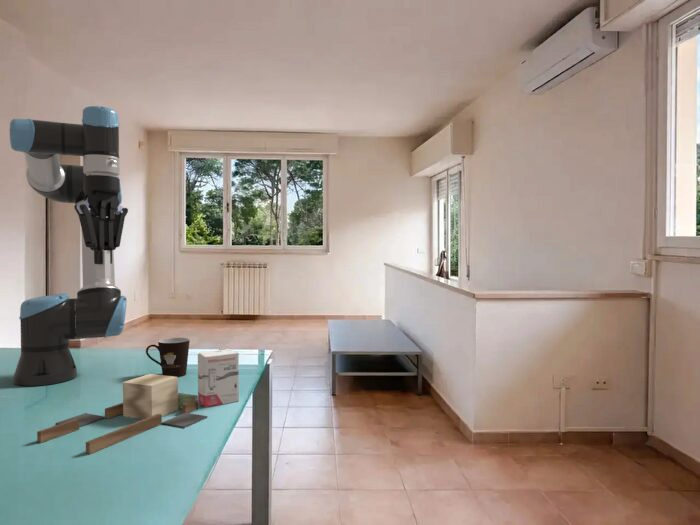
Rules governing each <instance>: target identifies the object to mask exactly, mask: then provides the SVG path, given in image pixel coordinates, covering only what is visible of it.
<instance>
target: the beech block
mask: <svg viewBox="0 0 700 525" xmlns="http://www.w3.org/2000/svg"><path fill="white" fill-rule="evenodd" d="M178 378H179V377H174V376H165V375H161V374H154V373H149V374H148V373H147V374H146V375H141V376H138V377H135V378H131V379H129V380H125V381H122V403H123V417H127V418H132V419H139V420H143V419H146V418H149V417H151V416H154V415H156V414H162V417H164V416H167V415H169V414H171V413H174V412H176V411H178V410H179V407H178V393H179V382H178V380H179V379H178ZM177 409H178V410H177ZM175 410H176V411H175ZM173 411H174V412H173Z"/></svg>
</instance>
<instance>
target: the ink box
mask: <svg viewBox="0 0 700 525" xmlns="http://www.w3.org/2000/svg"><path fill="white" fill-rule="evenodd" d="M239 357H240V356H239V352H237V351H236V350H233V349H231V348H230V349H228V348H226V349H218V350H217V349H216V350H210V351H201V352H199V353H198V354H197V396H198V405H200V406H201V407H204V408H210V407H214V405H215V406H220V404H221V405H227V404H231V403H237V402H239V400H240V380H239V379H240V370H239V369H240V368H239V367H240V366H239V363H240V362H239V361H240V360H239ZM209 406H210V407H209Z"/></svg>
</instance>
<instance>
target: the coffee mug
mask: <svg viewBox="0 0 700 525" xmlns="http://www.w3.org/2000/svg"><path fill="white" fill-rule="evenodd" d="M190 341H191V340H190V338H187V337H169V338H162V339H159V340H158V342H157V344H149V345H148V346H147V347H146V349H145V354H146V355H147V357H148V358H149V359H150V360H151V361H153V362H154V363H156V364H157V365H159V366H160V367H161V374H162V375H165V376H174V377H178V378H181V377H184V376H187V369H188V359H189V352H190V351H189V350H190ZM153 347H154V348H156V349H157V350H158V352H159V358H160V362H159V361H158V360H157V359H155V358H154V357H152V356H151V355H150V353H149V349H150V348H153Z"/></svg>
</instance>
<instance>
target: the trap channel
mask: <svg viewBox="0 0 700 525" xmlns="http://www.w3.org/2000/svg"><path fill="white" fill-rule="evenodd" d="M179 407H180V409H181V413H182V414H179V415H176V416H174V417H172V418H170V419H167V420H165V421H163V420H162V419H163V418H162V417H163V416H162V414H156V415H154V416H151V417H149V418H146V419H140V420H139V421H136V422H133V423H131V424H128V425H126V426H123V427H121V428H118V429H116V430H112V431H111V432H108V433H106V434H102V435H100V436H98V437H96V438H93V439H90V440H88V441H85V454H86V455H92V454H95V453H96V452H98V451H101V450H103V449H105V448H108V447H111V446H113V445H115V444H118V443H119V442H122V441H125V440H127V439H129V438H132V437H134V436H137V435H139V434H141V433H144V432H146V431H149V430H151V429H154V428H156V427H158V426H160V425H165V426H172V427H177V428H181V427H183V429H186V428H188V427H190V426H192V425H194V424H197V423H199V422H200V420H201V421H203V420H205V419H207V418H208V416H207V415H202V414H197V413H191V412H193V410H194V411H196V410H198V409H199V403H198V394H197V395H196V394H190V393H183V392H182V393H181V392H178V408H179ZM195 409H196V410H195ZM188 412H189V413H188ZM122 414H123V402H121V403H118V404H114V405H112V406H110V407H105V408H104V416H103V415H99V414H93V413H82V414H79V415H75V416H71V417H69V418H66V419H64V420H61V421H58V422H55V425H53V426H50V427H47V428H45V429H41V430H39V431H36V436H37V438H36V440H37V441H36V442H37V443H39V444H42V443H45V442H47V441H51V440H53V439H56V438H59V437H62V436H64V435H67V434H70V433H72V432H76V431H78V430H80V428H82V427H84V426H87V425H90V424H93V423H95V422H98V421H101V420H103V419H107V420H108V419H111V418H114V417H117V416H120V415H122ZM204 418H205V419H204ZM202 419H203V420H202ZM198 421H199V422H198ZM196 422H197V423H196ZM187 426H188V427H187ZM185 427H186V428H185Z"/></svg>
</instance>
